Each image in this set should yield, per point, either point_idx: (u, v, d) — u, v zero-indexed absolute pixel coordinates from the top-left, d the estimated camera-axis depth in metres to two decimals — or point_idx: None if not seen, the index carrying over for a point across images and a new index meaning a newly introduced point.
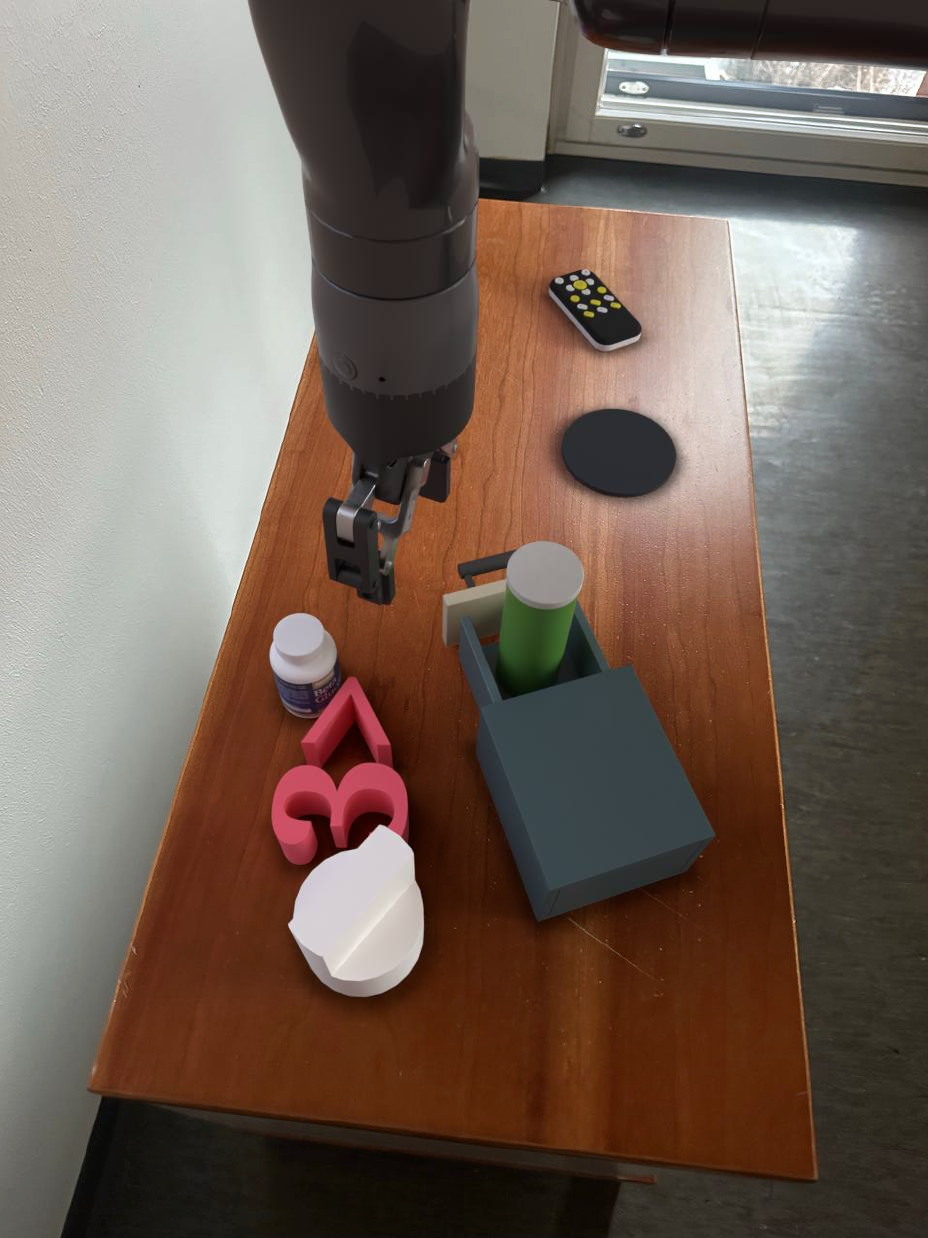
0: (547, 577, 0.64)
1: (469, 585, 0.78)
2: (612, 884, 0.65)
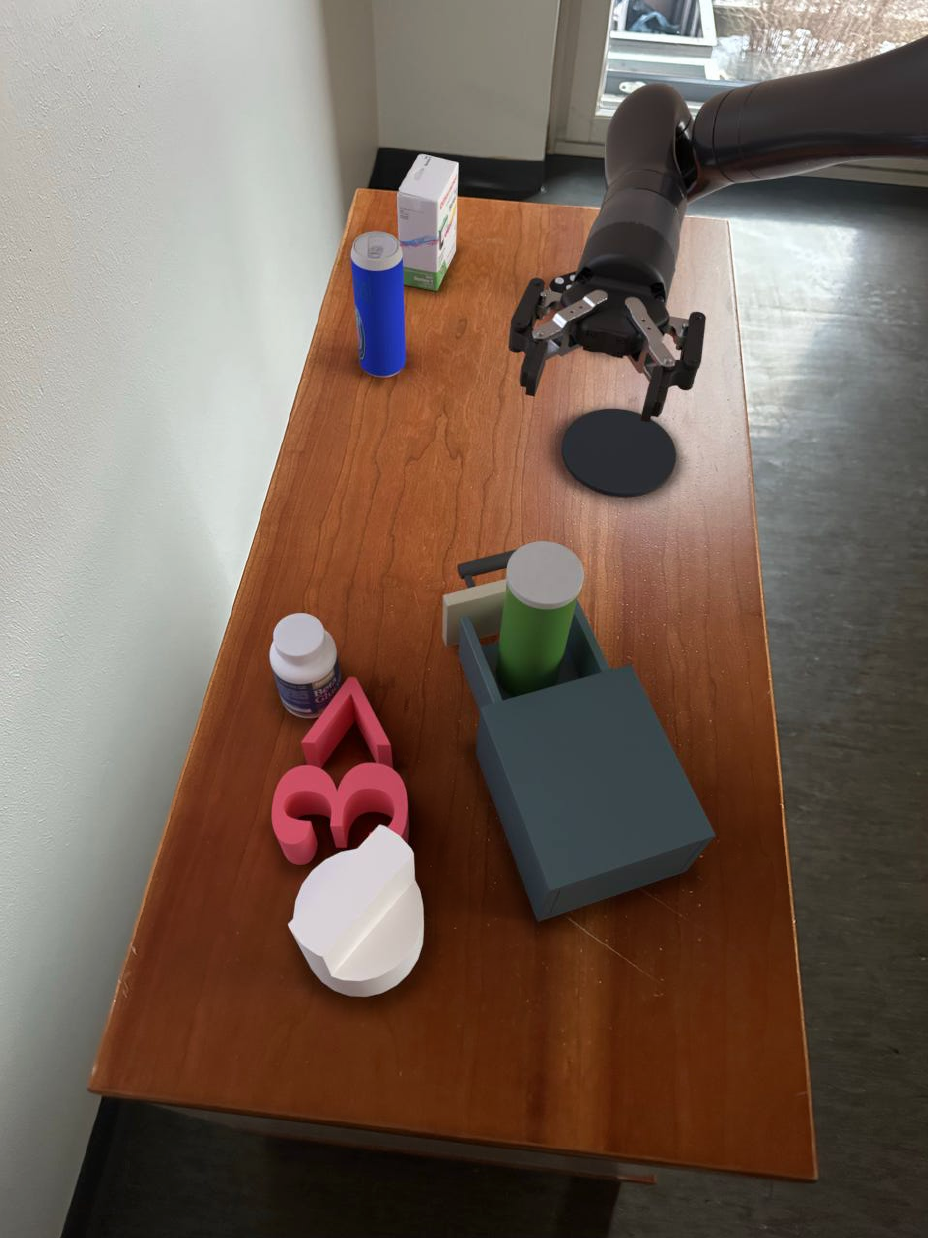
0: (547, 577, 0.64)
1: (469, 585, 0.78)
2: (612, 884, 0.65)
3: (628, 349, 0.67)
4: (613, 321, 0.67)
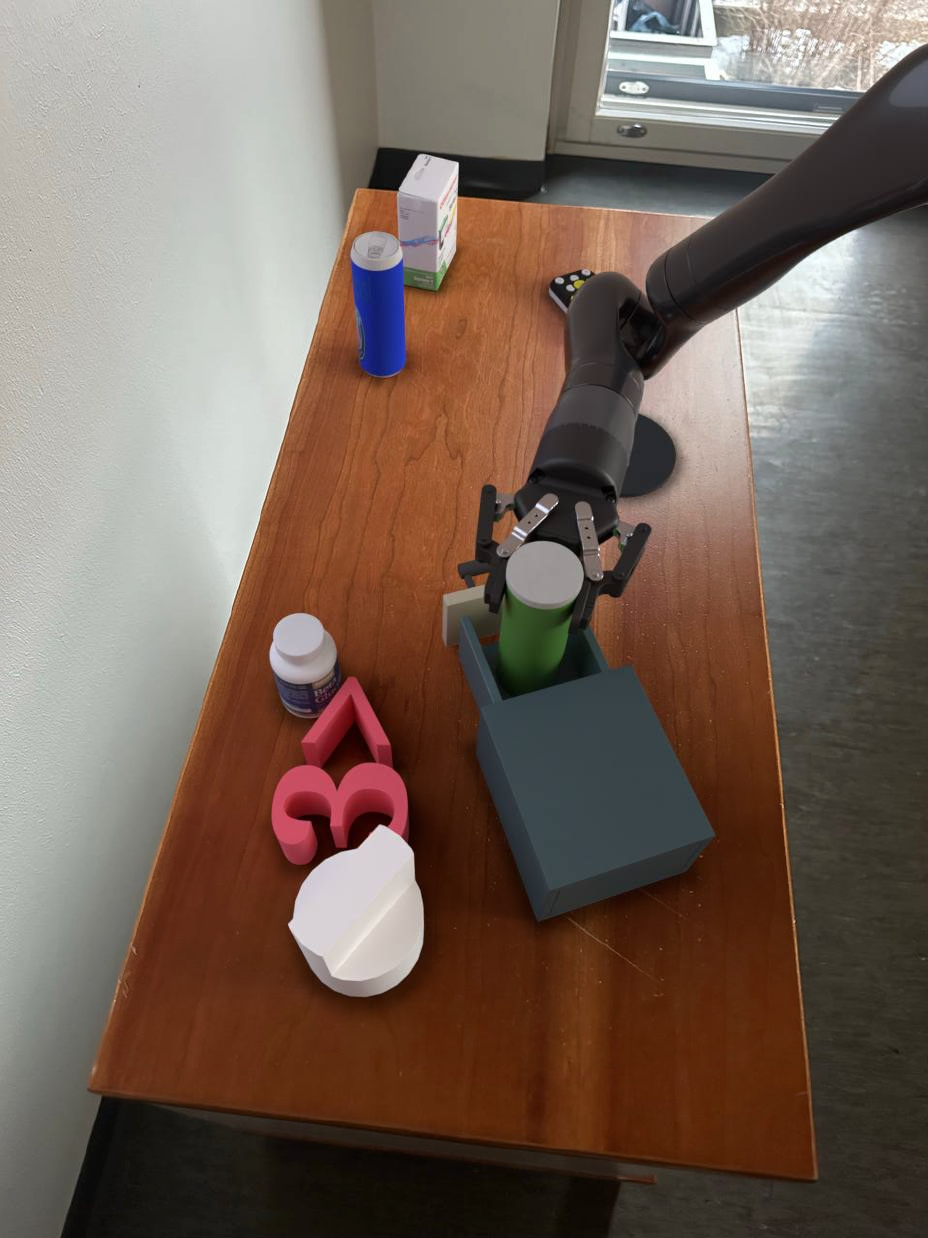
0: (547, 577, 0.64)
1: (469, 585, 0.78)
2: (612, 884, 0.65)
3: None
4: (563, 525, 0.68)
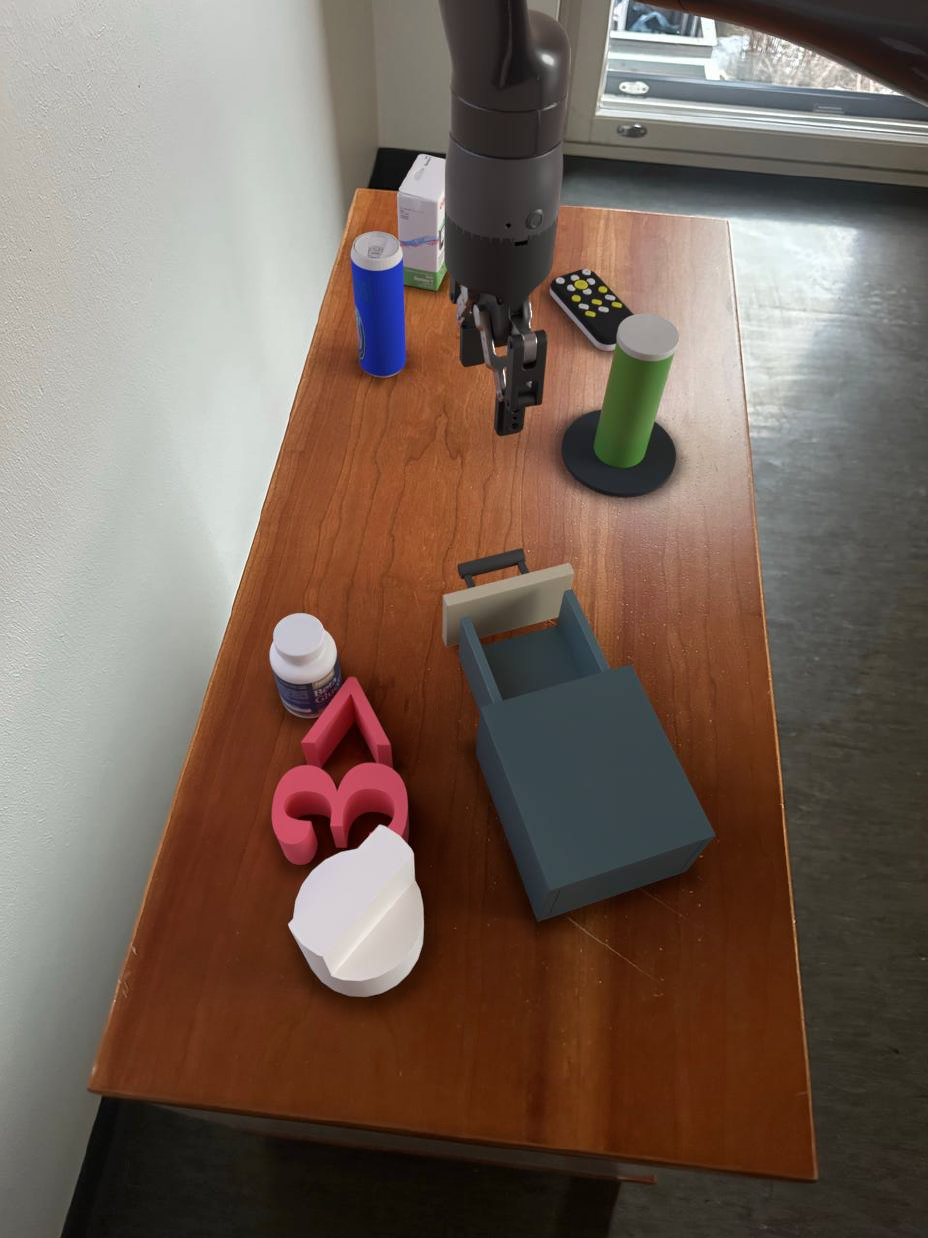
0: (647, 337, 0.81)
1: (469, 585, 0.78)
2: (612, 884, 0.65)
3: None
4: None
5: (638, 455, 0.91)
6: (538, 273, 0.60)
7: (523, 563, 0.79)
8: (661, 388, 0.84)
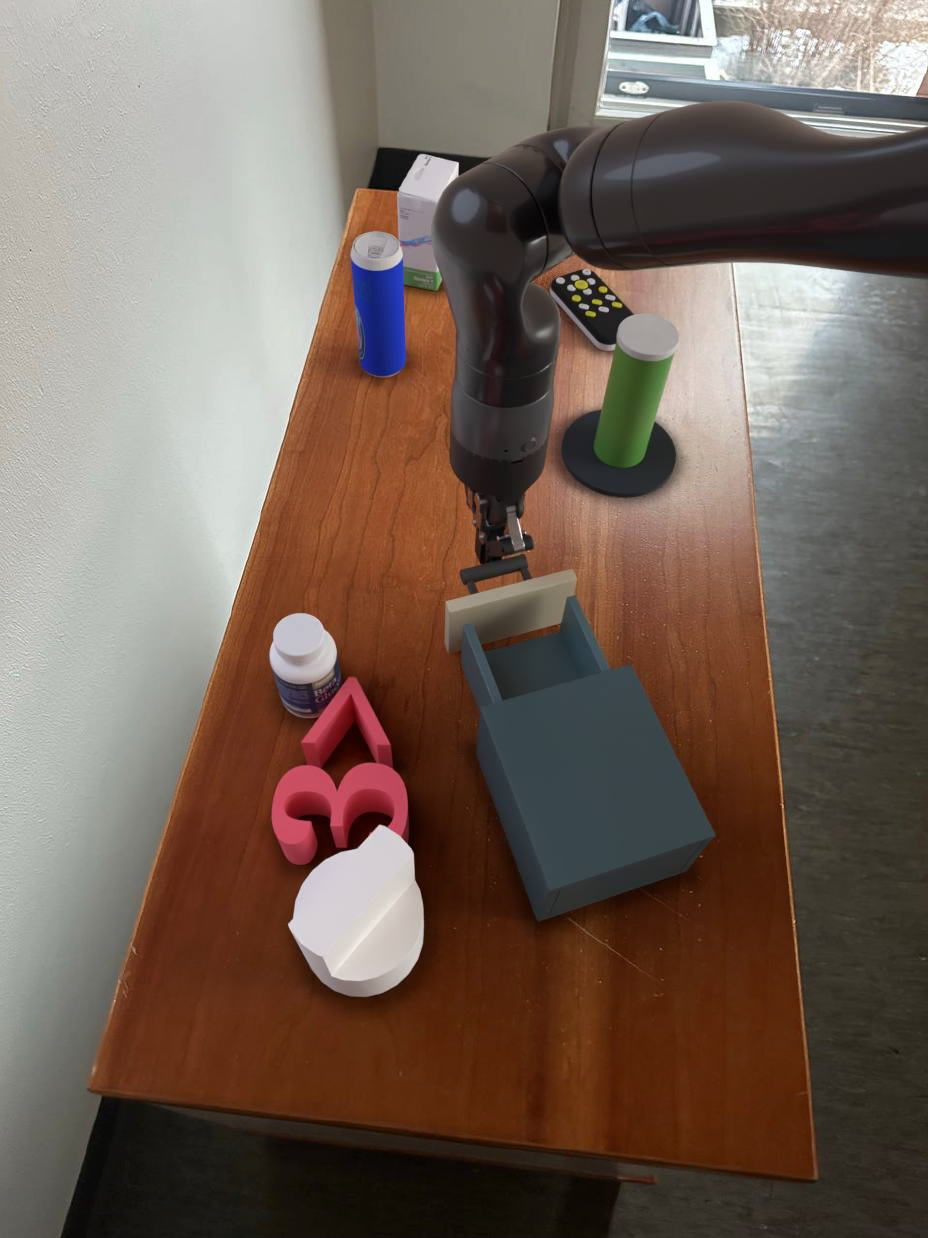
0: (647, 337, 0.81)
1: (471, 591, 0.77)
2: (612, 884, 0.65)
3: None
4: None
5: (638, 455, 0.91)
6: (532, 478, 0.68)
7: (526, 569, 0.79)
8: (661, 388, 0.84)
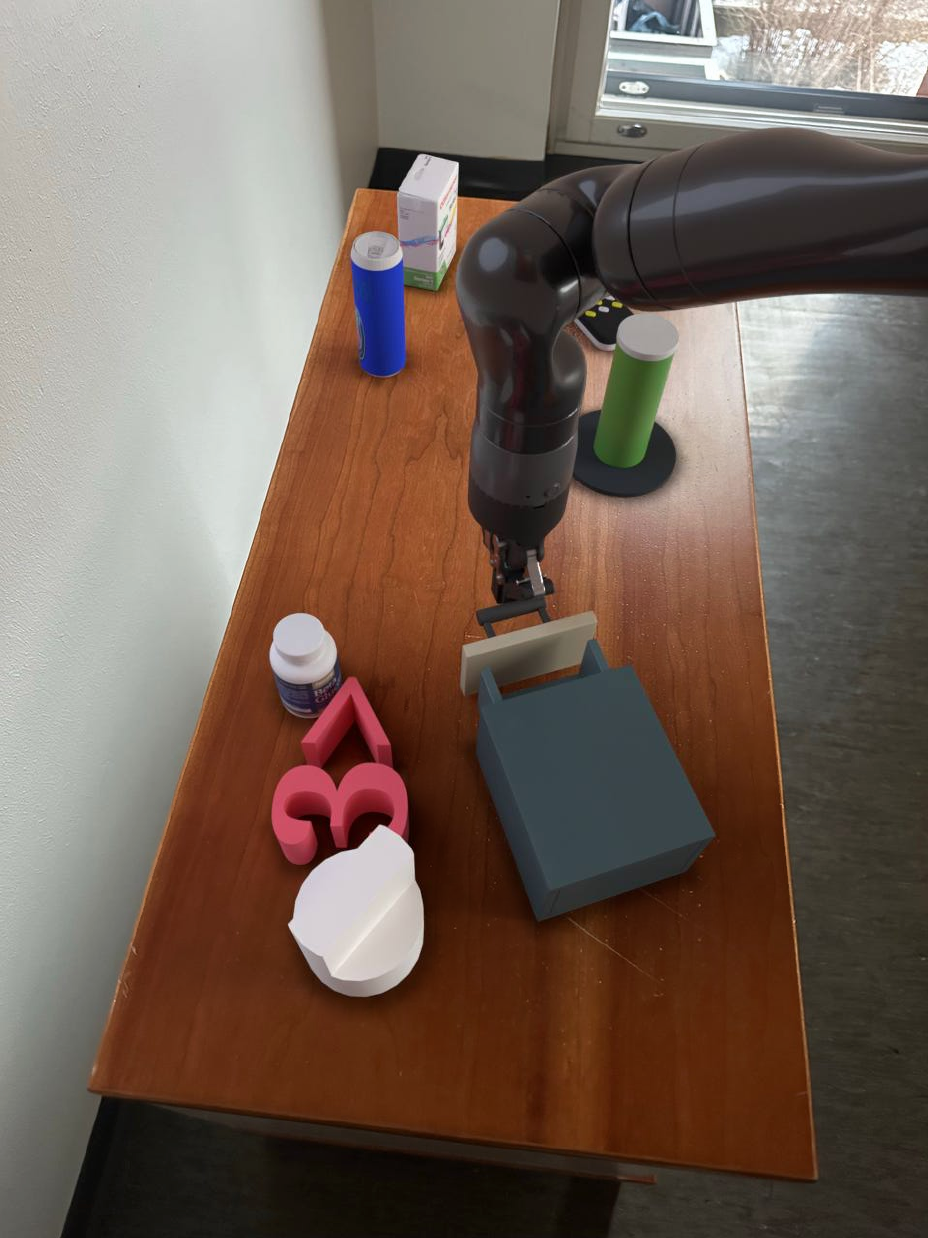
0: (647, 337, 0.81)
1: (488, 633, 0.75)
2: (612, 884, 0.65)
3: None
4: None
5: (638, 455, 0.91)
6: (553, 522, 0.66)
7: (544, 609, 0.77)
8: (661, 388, 0.84)
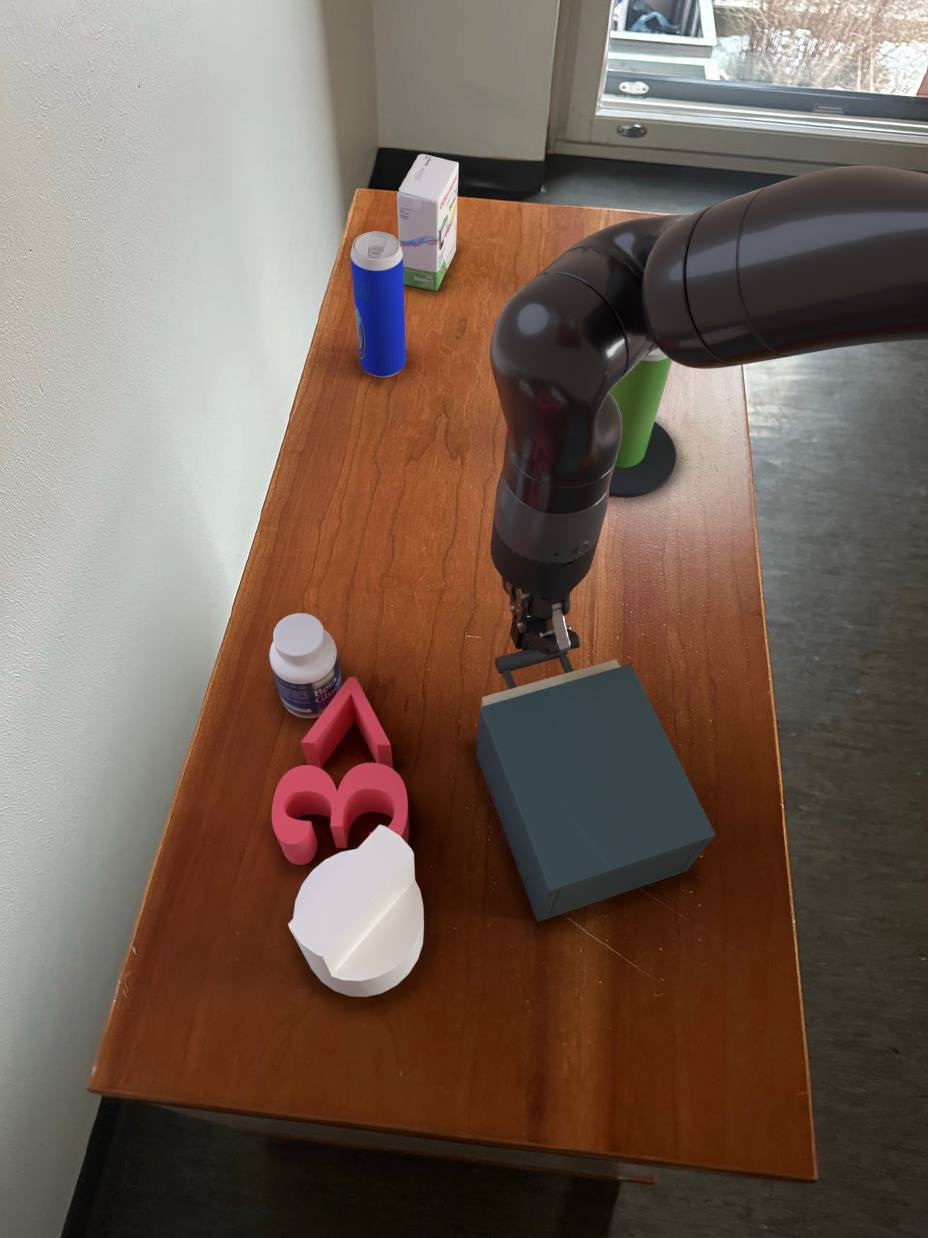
0: None
1: (508, 682, 0.73)
2: (612, 884, 0.65)
3: None
4: None
5: (638, 455, 0.91)
6: (580, 576, 0.63)
7: (565, 656, 0.74)
8: (661, 388, 0.84)
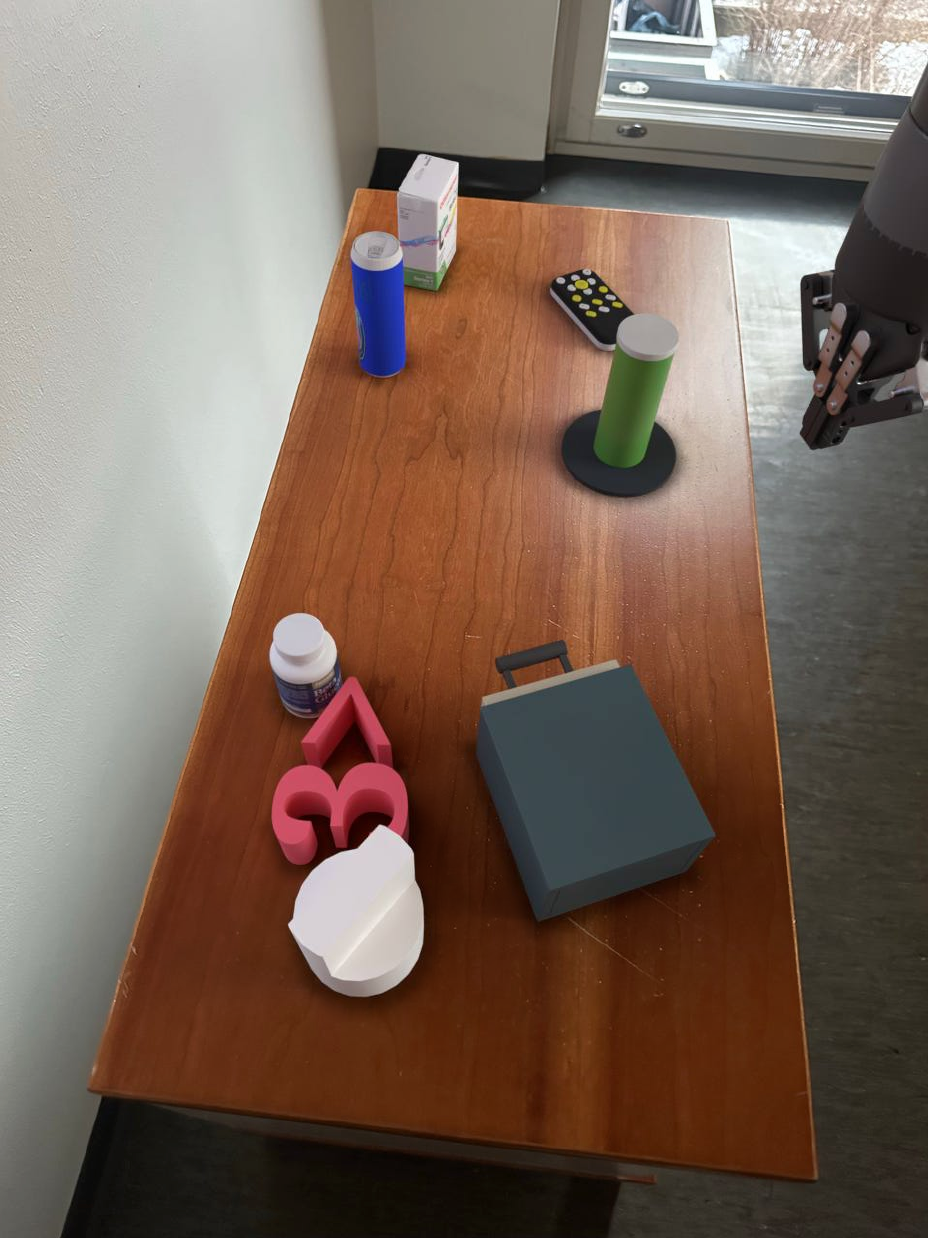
0: (647, 337, 0.81)
1: (508, 682, 0.73)
2: (612, 884, 0.65)
3: None
4: None
5: (638, 455, 0.91)
6: None
7: (565, 656, 0.74)
8: (661, 388, 0.84)
